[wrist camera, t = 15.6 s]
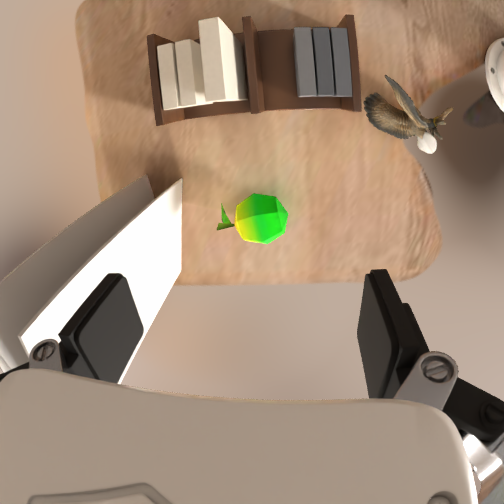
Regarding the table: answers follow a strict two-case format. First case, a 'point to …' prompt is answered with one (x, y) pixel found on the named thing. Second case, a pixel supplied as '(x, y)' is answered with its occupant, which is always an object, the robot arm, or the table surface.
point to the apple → (258, 219)
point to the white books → (181, 74)
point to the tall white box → (94, 267)
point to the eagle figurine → (403, 118)
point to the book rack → (261, 77)
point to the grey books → (322, 62)
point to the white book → (221, 62)
